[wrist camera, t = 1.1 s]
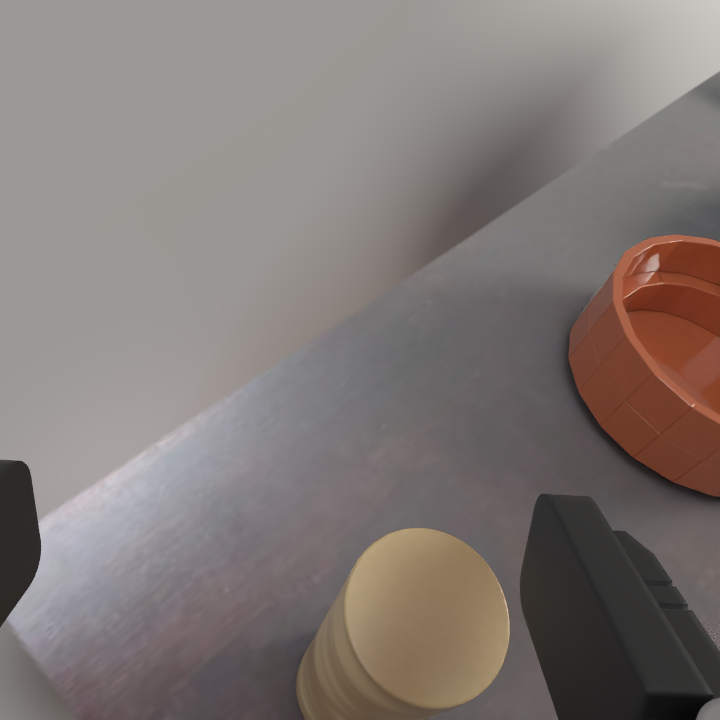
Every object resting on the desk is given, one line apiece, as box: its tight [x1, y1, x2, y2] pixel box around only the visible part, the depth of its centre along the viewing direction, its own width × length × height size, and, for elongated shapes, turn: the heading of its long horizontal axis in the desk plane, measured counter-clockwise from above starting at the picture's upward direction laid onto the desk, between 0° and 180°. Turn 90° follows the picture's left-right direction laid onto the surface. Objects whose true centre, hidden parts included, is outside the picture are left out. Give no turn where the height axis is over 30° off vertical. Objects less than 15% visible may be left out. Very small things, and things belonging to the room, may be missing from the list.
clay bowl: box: [568, 234, 720, 497], centre depth 36 cm, size 15×15×6 cm
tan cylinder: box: [296, 528, 510, 720], centre depth 20 cm, size 4×4×12 cm
